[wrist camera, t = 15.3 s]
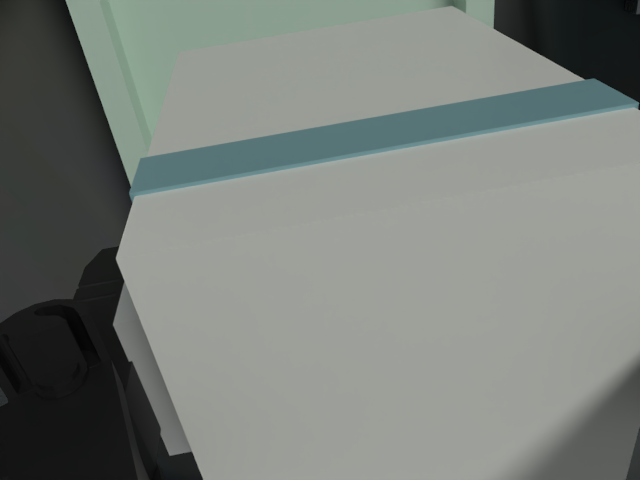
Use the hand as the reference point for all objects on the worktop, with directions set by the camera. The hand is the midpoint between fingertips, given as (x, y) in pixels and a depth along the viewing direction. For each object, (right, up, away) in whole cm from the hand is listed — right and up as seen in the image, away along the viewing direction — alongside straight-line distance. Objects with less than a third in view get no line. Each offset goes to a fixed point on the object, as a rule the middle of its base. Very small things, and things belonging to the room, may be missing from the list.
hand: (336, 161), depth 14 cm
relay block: (0, 0, 0) cm, 0 cm away
